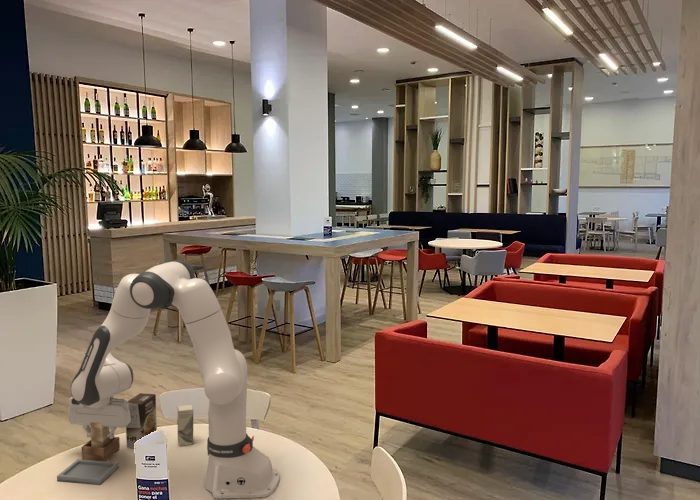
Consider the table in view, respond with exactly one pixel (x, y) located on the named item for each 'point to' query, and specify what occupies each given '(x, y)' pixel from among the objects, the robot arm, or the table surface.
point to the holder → (100, 451)
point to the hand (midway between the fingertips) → (100, 437)
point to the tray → (88, 472)
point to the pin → (99, 435)
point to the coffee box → (141, 417)
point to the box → (185, 425)
